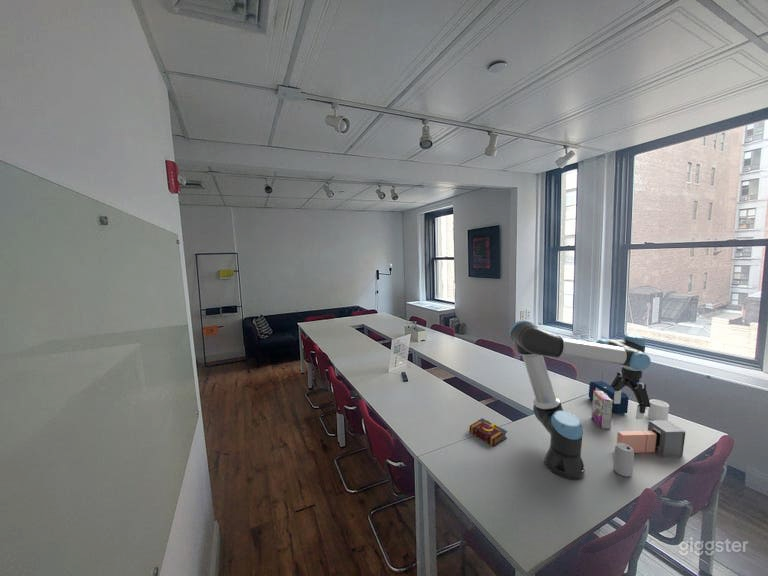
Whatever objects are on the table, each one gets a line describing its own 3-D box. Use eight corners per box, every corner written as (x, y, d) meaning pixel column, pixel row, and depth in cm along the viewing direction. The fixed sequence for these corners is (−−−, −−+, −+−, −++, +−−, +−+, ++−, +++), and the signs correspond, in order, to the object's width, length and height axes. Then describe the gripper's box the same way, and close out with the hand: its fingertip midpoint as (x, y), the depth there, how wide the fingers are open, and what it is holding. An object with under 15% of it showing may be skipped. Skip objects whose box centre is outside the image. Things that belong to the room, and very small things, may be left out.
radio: (586, 398, 193) (588, 368, 191) (598, 397, 194) (601, 367, 192) (614, 416, 173) (617, 383, 170) (628, 415, 174) (631, 382, 171)
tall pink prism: (621, 453, 142) (622, 435, 141) (616, 448, 145) (617, 431, 144) (654, 452, 142) (656, 434, 141) (649, 447, 145) (650, 430, 144)
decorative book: (493, 447, 148) (494, 438, 147) (467, 432, 161) (467, 423, 160) (507, 439, 155) (507, 429, 154) (480, 424, 168) (480, 416, 167)
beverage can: (633, 480, 126) (635, 453, 125) (613, 474, 129) (616, 448, 128) (630, 470, 131) (633, 445, 130) (612, 465, 135) (614, 440, 133)
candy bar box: (590, 417, 172) (592, 390, 170) (600, 417, 171) (602, 390, 169) (600, 428, 161) (602, 399, 159) (611, 429, 160) (613, 400, 158)
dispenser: (663, 456, 139) (666, 431, 138) (646, 444, 148) (648, 420, 147) (682, 456, 139) (685, 431, 138) (664, 443, 148) (666, 420, 147)
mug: (644, 410, 178) (646, 395, 177) (670, 421, 167) (672, 404, 166) (636, 413, 175) (638, 397, 173) (662, 424, 164) (664, 407, 162)
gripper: (664, 379, 128) (659, 426, 130) (619, 358, 152) (615, 397, 155) (646, 379, 128) (641, 426, 131) (604, 358, 152) (601, 397, 155)
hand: (627, 410), depth 143 cm, fingers open, 13 cm apart
